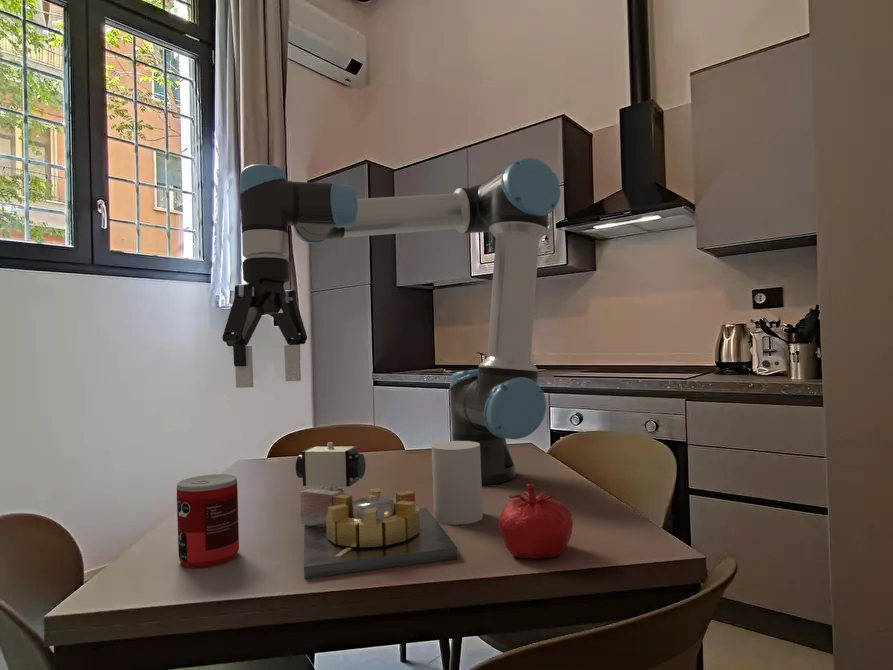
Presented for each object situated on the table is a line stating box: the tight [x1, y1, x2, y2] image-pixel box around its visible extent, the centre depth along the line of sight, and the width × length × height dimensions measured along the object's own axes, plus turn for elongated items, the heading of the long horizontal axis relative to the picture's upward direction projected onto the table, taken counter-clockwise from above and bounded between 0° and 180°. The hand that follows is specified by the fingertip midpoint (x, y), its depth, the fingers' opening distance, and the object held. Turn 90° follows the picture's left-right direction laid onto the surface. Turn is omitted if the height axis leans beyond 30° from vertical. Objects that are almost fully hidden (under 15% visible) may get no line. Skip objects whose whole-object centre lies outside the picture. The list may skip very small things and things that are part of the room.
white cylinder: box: [431, 440, 484, 526], centre depth 95 cm, size 8×8×12 cm
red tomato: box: [498, 483, 574, 560], centre depth 78 cm, size 10×10×9 cm
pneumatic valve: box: [295, 441, 367, 495], centre depth 103 cm, size 6×12×12 cm, turn 78°
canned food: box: [176, 473, 240, 569], centre depth 80 cm, size 8×8×11 cm
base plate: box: [303, 496, 459, 579], centre depth 83 cm, size 20×20×6 cm
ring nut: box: [299, 487, 420, 547], centre depth 85 cm, size 20×13×5 cm
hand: (270, 384), depth 96 cm, fingers open, 13 cm apart
